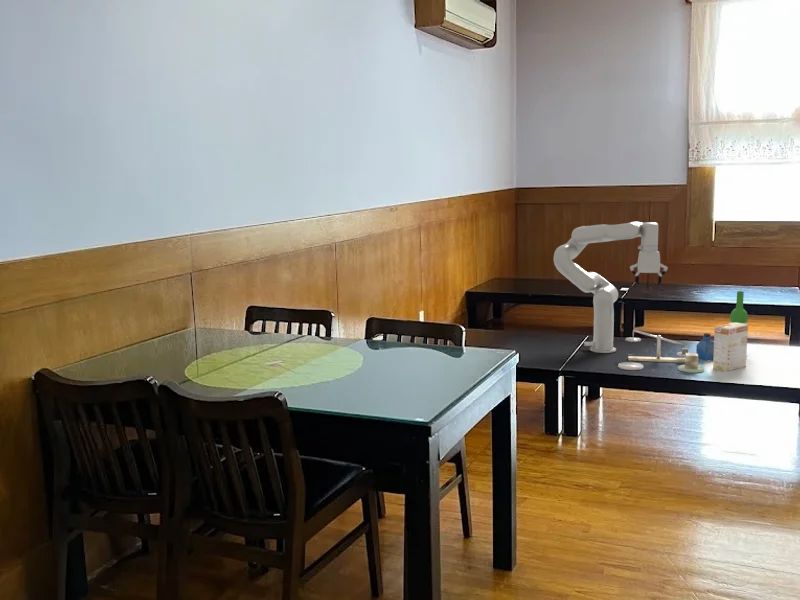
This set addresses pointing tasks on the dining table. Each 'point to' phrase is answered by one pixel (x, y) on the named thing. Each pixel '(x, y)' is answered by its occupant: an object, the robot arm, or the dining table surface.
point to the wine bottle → (739, 311)
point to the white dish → (630, 366)
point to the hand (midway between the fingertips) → (648, 284)
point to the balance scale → (658, 358)
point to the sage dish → (700, 369)
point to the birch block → (691, 360)
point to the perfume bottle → (705, 348)
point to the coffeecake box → (730, 346)
